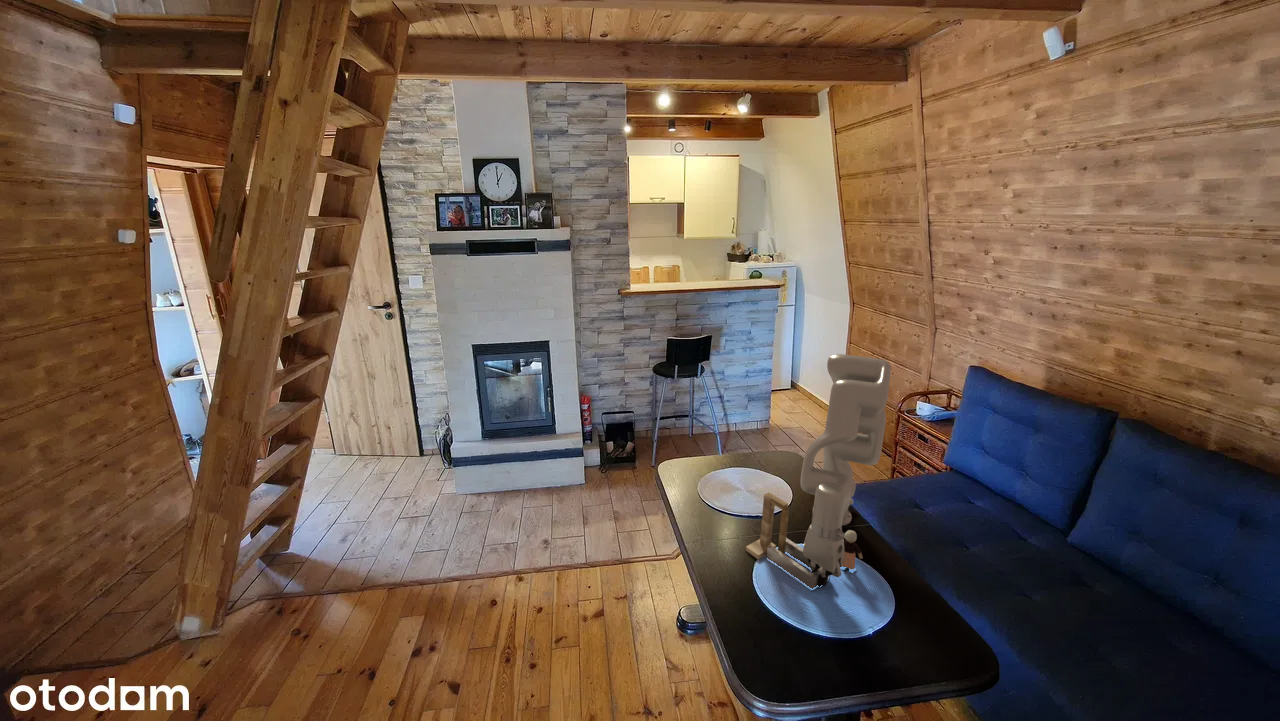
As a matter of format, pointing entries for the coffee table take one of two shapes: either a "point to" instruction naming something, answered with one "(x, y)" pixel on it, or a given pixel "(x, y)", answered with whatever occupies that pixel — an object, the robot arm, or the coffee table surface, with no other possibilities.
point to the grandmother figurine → (850, 549)
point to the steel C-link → (794, 563)
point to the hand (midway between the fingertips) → (818, 583)
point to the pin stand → (770, 527)
